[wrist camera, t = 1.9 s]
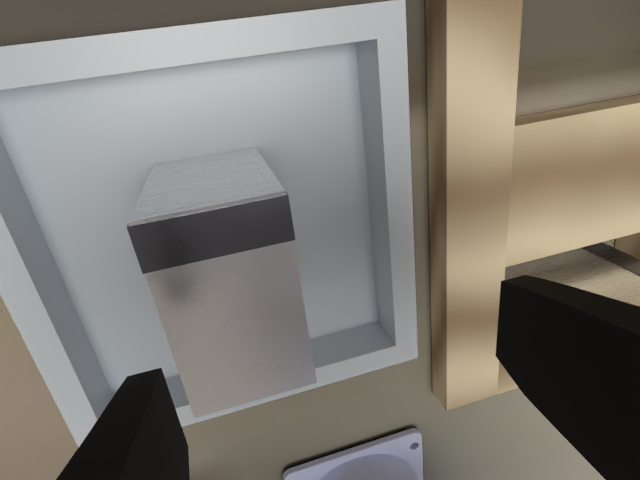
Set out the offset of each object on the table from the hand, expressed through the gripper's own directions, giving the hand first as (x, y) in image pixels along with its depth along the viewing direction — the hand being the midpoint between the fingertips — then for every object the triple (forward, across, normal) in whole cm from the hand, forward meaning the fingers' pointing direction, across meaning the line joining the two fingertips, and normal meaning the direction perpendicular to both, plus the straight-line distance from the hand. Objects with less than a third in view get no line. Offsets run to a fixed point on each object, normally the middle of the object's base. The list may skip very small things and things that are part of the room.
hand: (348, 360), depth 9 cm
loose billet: (+9, +2, 0) cm, 9 cm away
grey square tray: (+9, +2, 0) cm, 10 cm away
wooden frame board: (+9, -14, +1) cm, 17 cm away
